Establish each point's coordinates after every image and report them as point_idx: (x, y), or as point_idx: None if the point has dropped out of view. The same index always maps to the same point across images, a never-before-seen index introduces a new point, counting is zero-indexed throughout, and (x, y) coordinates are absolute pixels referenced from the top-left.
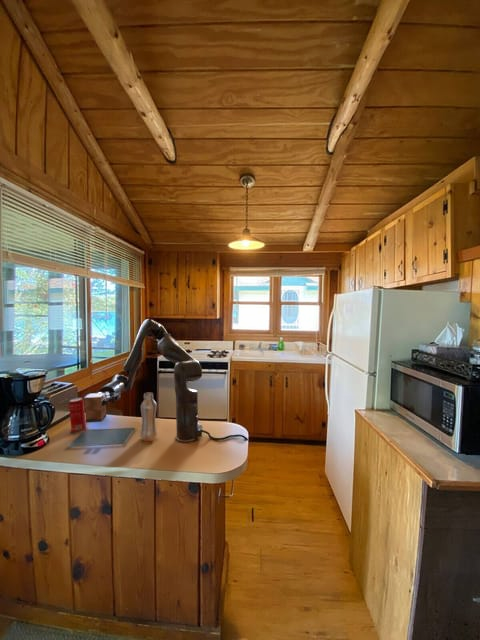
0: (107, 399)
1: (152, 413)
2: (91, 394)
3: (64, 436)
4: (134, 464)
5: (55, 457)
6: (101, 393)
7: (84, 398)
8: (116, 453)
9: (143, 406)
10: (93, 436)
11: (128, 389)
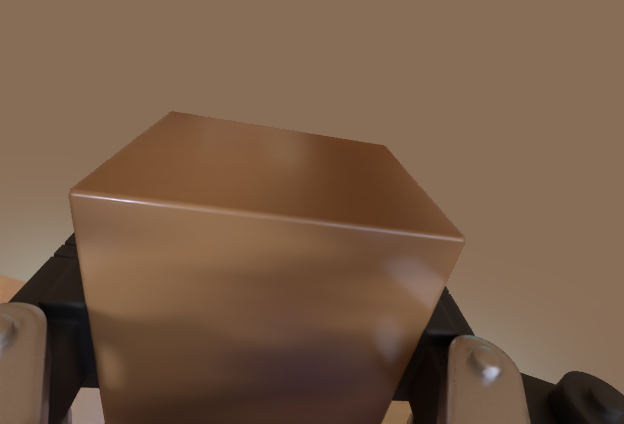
0: (52, 274)
1: None
2: (389, 195)
3: None
4: (8, 293)
5: (399, 407)
6: (185, 189)
7: (584, 387)
8: (76, 405)
9: None
10: None
11: None
